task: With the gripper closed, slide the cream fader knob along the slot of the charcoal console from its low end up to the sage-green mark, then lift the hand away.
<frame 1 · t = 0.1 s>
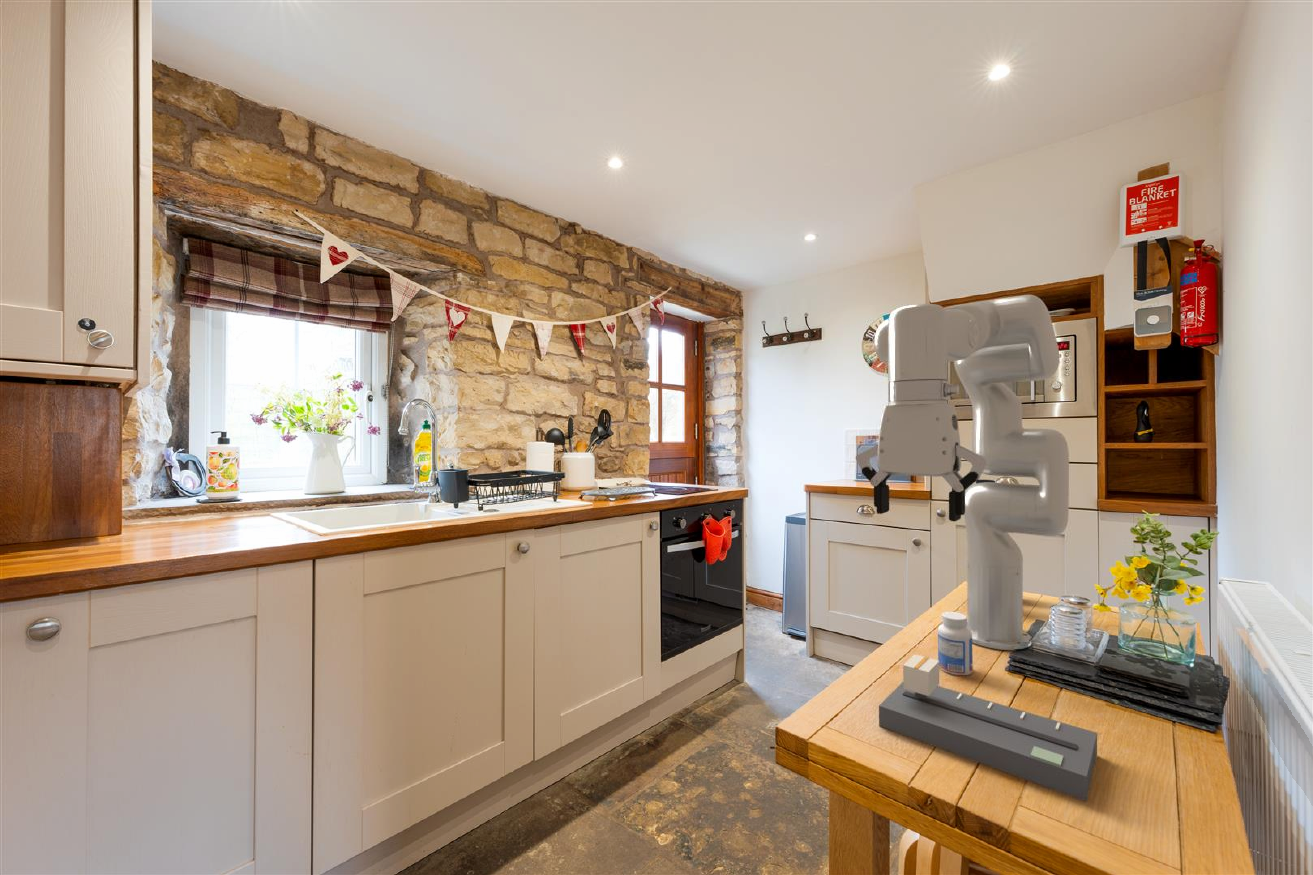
hand: (917, 516, 77), 31 cm above the table, tool pointing down, fingers open, 9 cm apart
pill bottle: (955, 670, 98), on the table
wine bottle: (985, 607, 129), on the table
console: (982, 739, 76), on the table
fader: (921, 679, 82), point 6 cm above the table, slide at 0.0 cm
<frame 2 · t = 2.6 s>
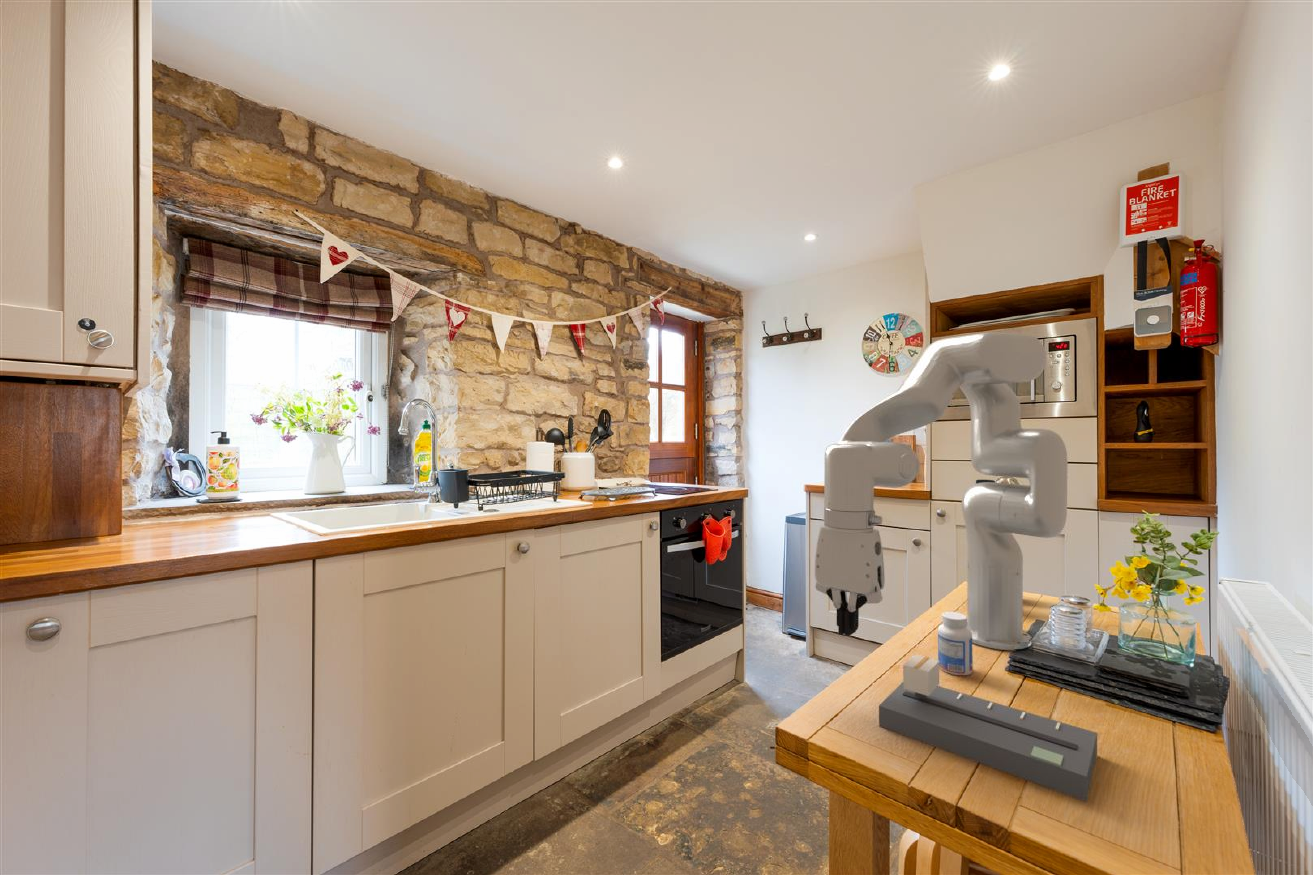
hand: (847, 632, 89), 10 cm above the table, tool pointing down, fingers closed
nothing on the table moved.
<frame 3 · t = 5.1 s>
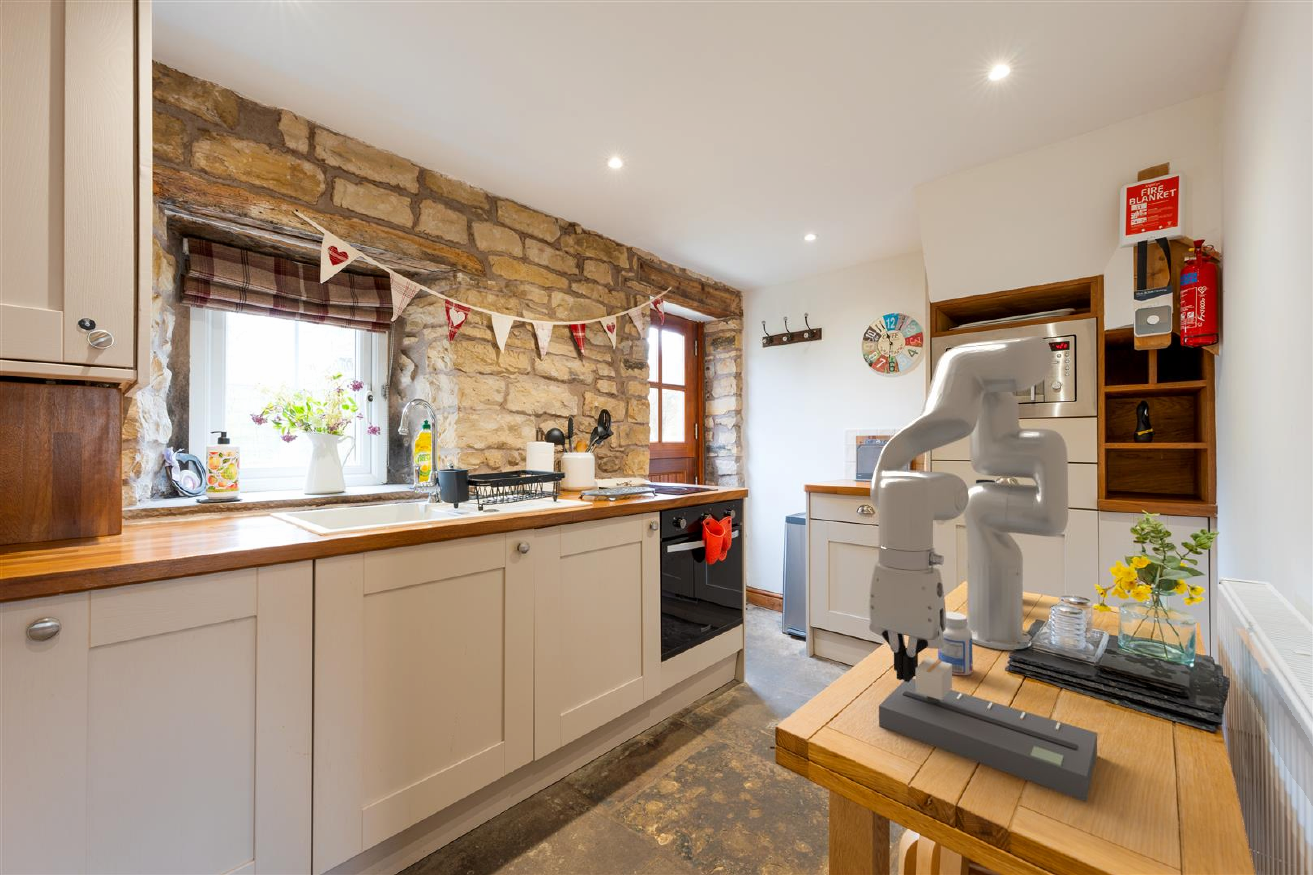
hand: (905, 677, 83), 6 cm above the table, tool pointing down, fingers closed
fader: (933, 682, 80), point 6 cm above the table, slide at 1.7 cm, touching gripper
everything else where it was.
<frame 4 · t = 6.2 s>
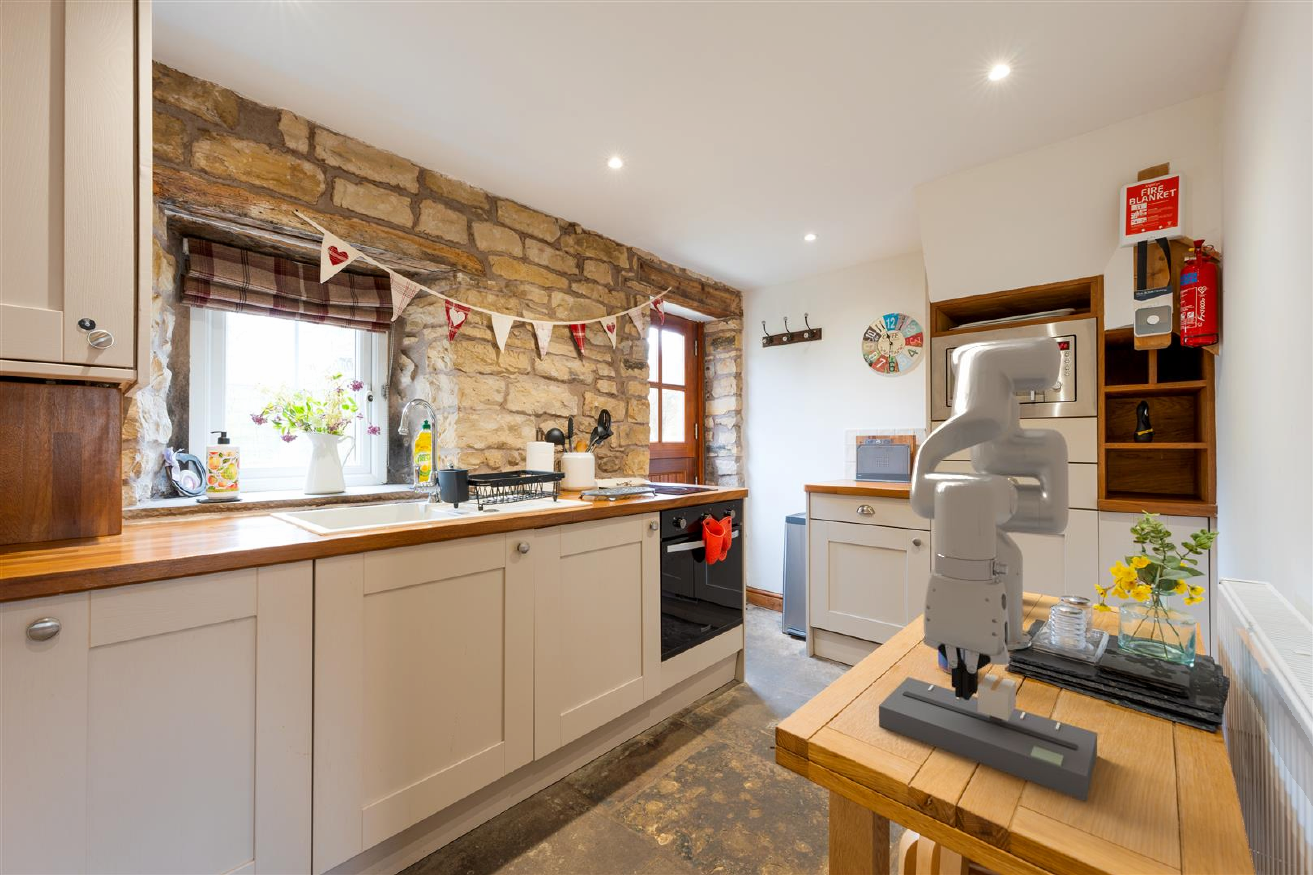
hand: (964, 694, 78), 6 cm above the table, tool pointing down, fingers closed
fader: (996, 701, 75), point 6 cm above the table, slide at 9.8 cm, touching gripper
everything else where it was.
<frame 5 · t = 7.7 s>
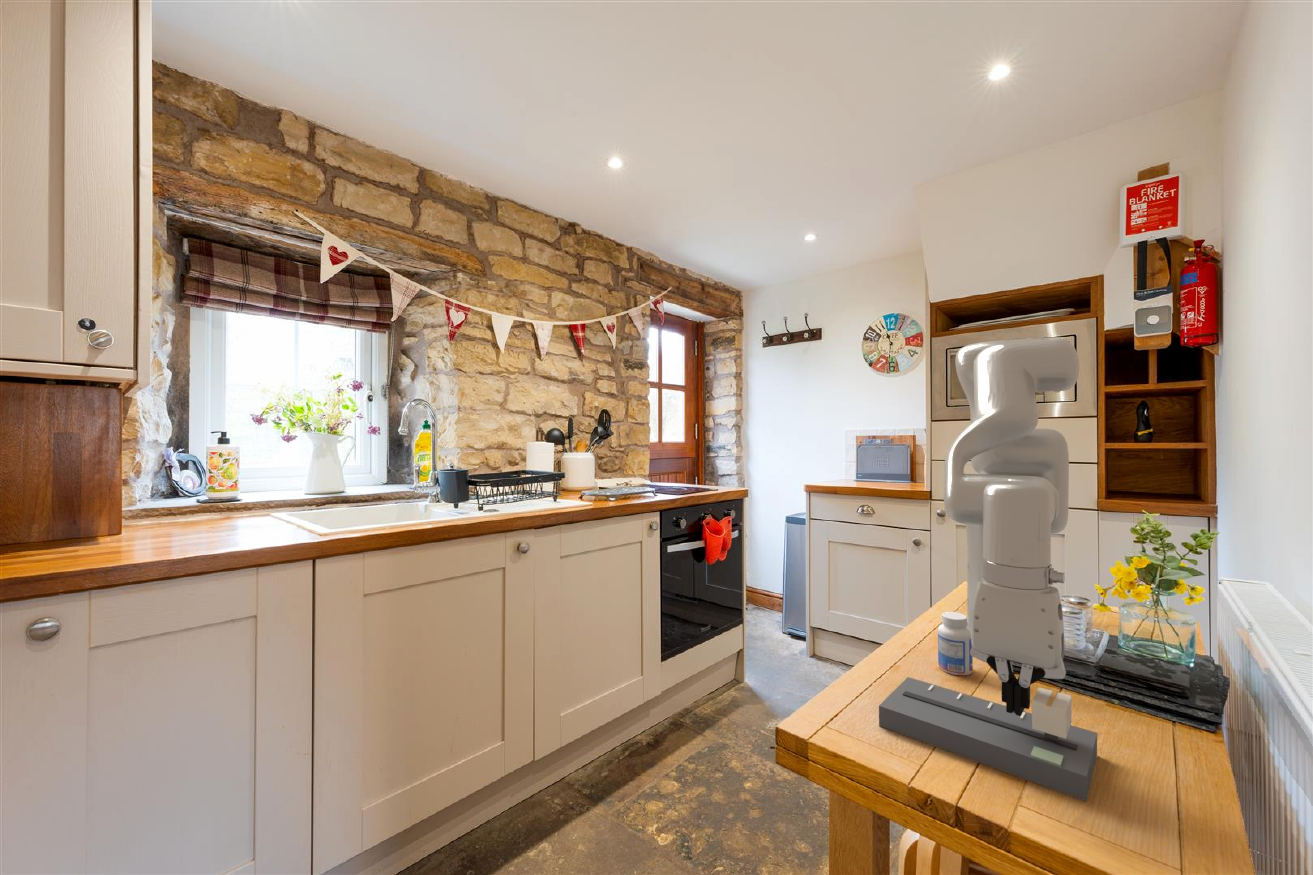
hand: (1015, 709, 73), 6 cm above the table, tool pointing down, fingers closed
fader: (1051, 717, 71), point 6 cm above the table, slide at 15.9 cm, touching gripper
everything else where it was.
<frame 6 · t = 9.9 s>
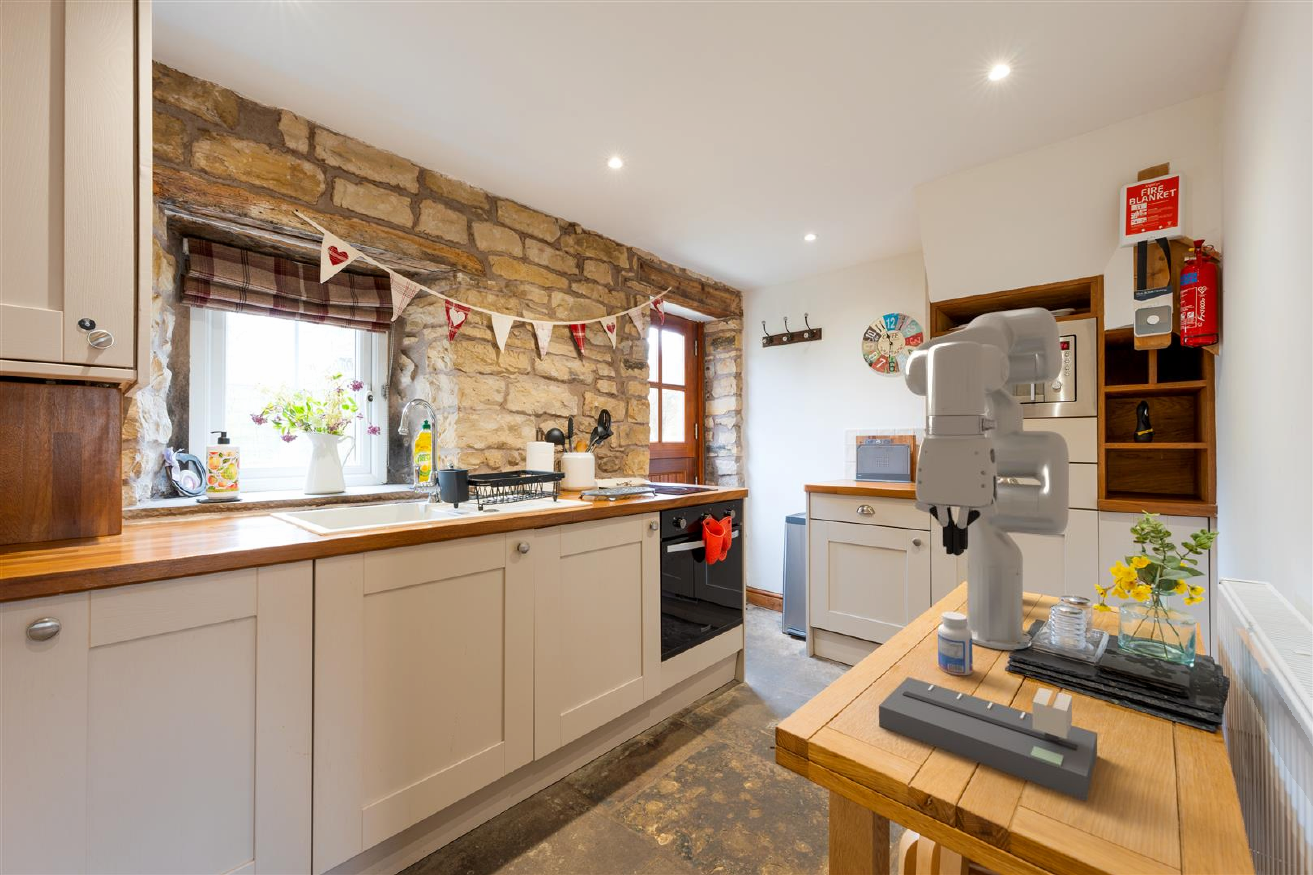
hand: (955, 552, 80), 25 cm above the table, tool pointing down, fingers closed
fader: (1052, 717, 71), point 6 cm above the table, slide at 16.0 cm
everything else where it was.
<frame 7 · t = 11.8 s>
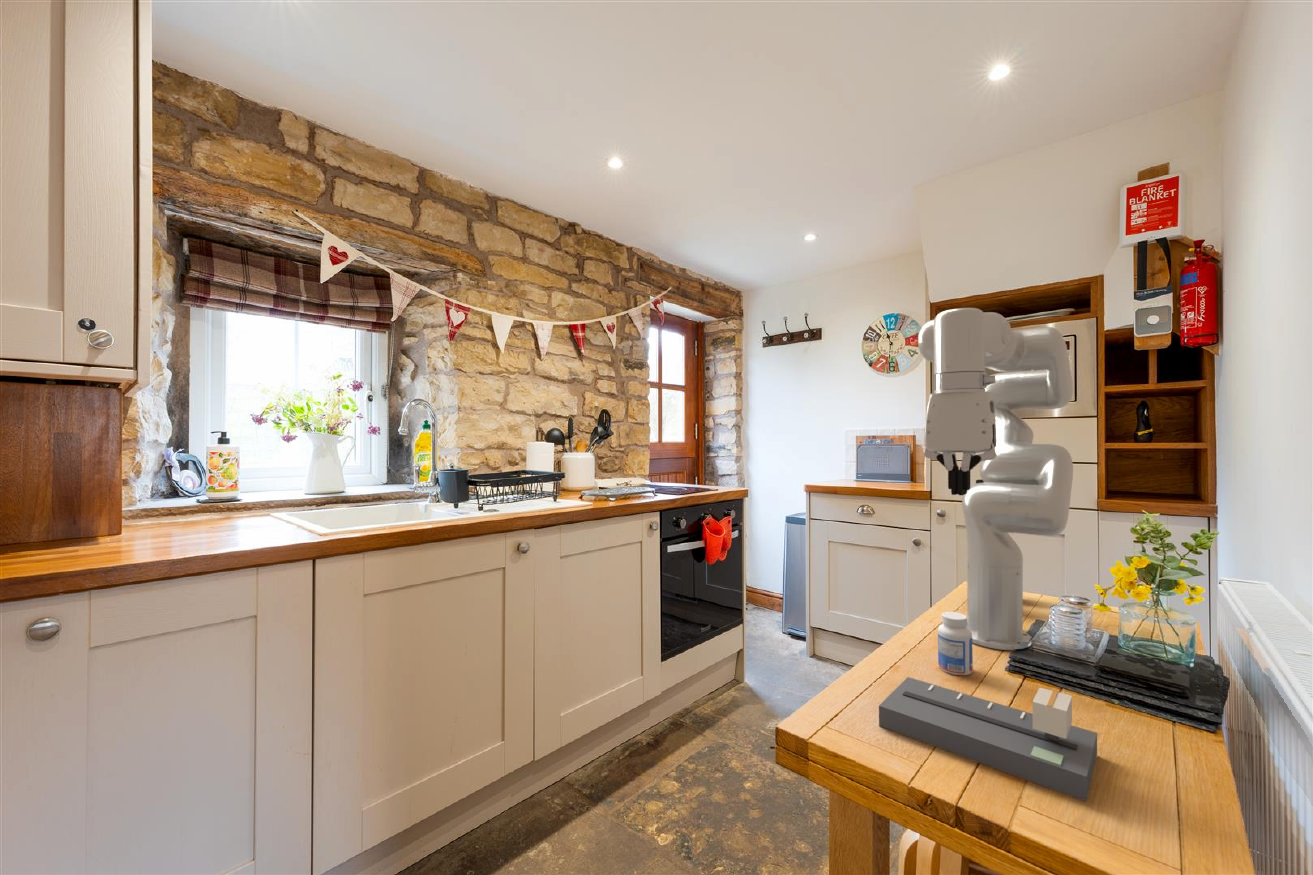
hand: (959, 493, 92), 32 cm above the table, tool pointing down, fingers closed
nothing on the table moved.
at the end: fader slide at 16.0 cm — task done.
